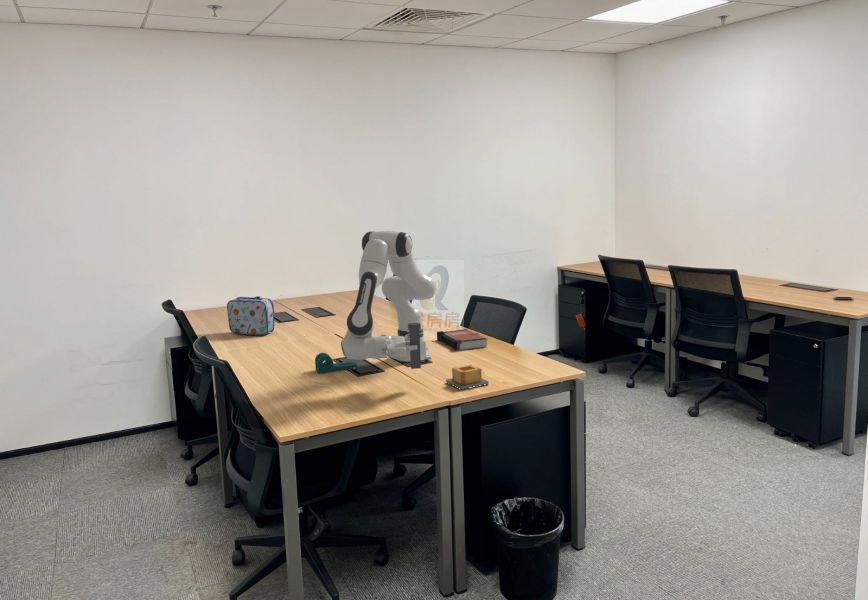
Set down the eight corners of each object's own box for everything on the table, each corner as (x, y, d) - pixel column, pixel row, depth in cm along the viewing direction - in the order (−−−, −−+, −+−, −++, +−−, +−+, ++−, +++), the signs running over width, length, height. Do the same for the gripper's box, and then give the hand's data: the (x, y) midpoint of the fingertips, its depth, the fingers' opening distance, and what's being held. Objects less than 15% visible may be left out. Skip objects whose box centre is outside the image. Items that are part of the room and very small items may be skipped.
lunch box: (279, 332, 390) (277, 294, 386) (270, 337, 380) (267, 297, 376) (237, 331, 398) (234, 293, 394) (227, 335, 388) (223, 296, 384)
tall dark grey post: (409, 368, 276) (407, 324, 273) (409, 366, 279) (407, 323, 276) (422, 368, 276) (420, 324, 273) (421, 366, 279) (420, 322, 276)
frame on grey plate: (461, 390, 274) (460, 374, 272) (445, 383, 284) (445, 367, 283) (488, 384, 280) (488, 369, 279) (472, 377, 290) (472, 362, 289)
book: (489, 347, 343) (489, 337, 342) (457, 351, 336) (456, 341, 336) (467, 337, 367) (467, 328, 366) (437, 341, 360) (436, 331, 360)
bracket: (318, 374, 304) (317, 356, 302) (315, 370, 310) (314, 353, 308) (358, 369, 310) (357, 352, 309) (354, 365, 316) (353, 348, 315)
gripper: (382, 346, 264) (418, 344, 265) (382, 333, 284) (415, 332, 285) (382, 362, 266) (418, 360, 266) (382, 348, 286) (416, 346, 287)
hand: (417, 345), depth 276 cm, fingers closed on tall dark grey post, 3 cm apart
